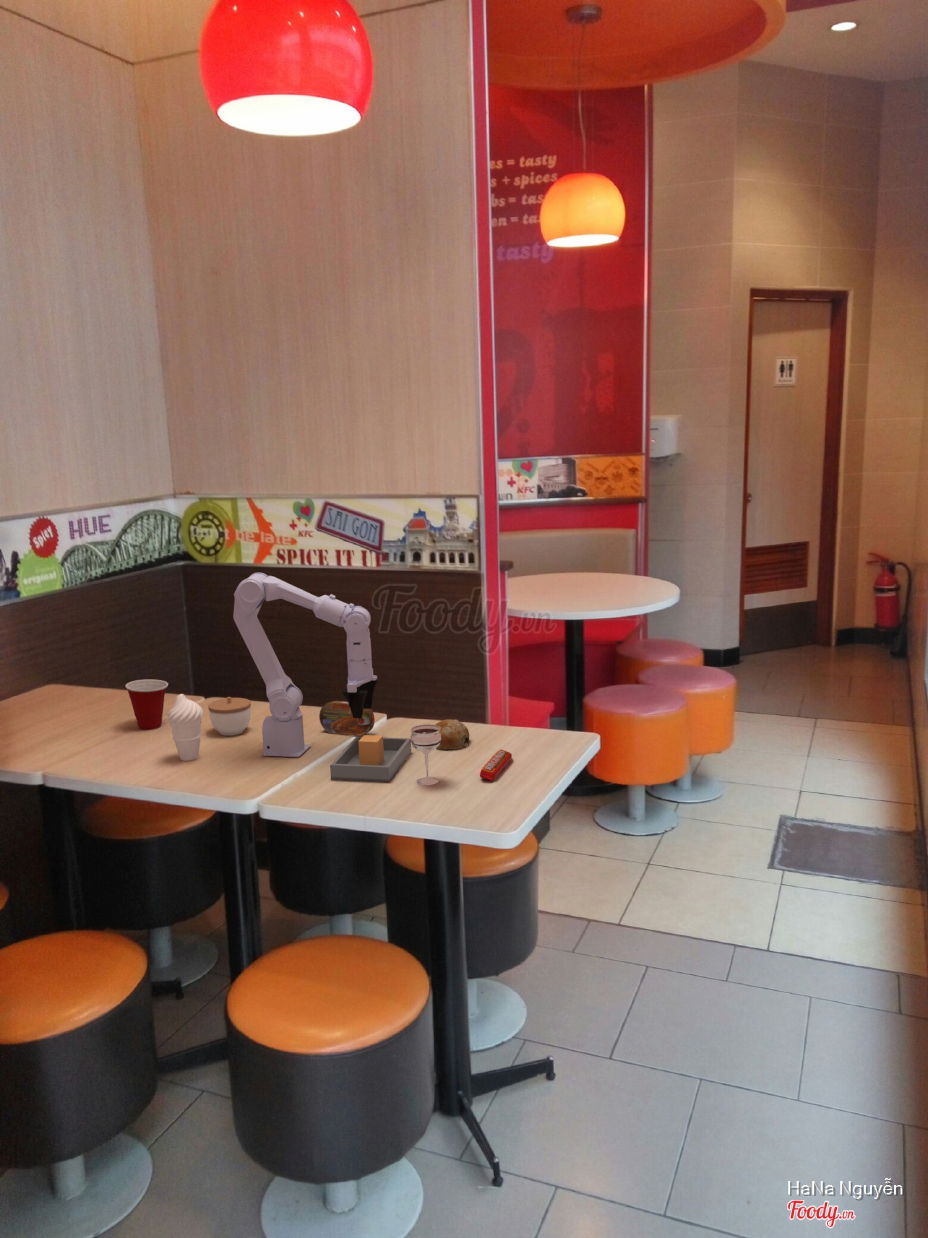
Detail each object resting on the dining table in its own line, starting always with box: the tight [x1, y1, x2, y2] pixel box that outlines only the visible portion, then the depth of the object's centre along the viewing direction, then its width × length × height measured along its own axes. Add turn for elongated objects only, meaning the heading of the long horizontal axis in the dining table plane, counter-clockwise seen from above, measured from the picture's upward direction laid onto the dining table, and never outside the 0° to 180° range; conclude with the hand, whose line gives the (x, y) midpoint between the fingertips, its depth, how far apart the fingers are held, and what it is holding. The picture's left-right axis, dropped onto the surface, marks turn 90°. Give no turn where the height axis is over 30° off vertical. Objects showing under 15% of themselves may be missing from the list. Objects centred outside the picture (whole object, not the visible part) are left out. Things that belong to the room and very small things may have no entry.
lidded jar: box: [207, 696, 252, 737], centre depth 253 cm, size 11×11×9 cm
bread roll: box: [434, 718, 470, 751], centre depth 239 cm, size 10×10×8 cm
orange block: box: [358, 734, 384, 766], centre depth 226 cm, size 4×4×6 cm
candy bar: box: [479, 749, 513, 782], centre depth 221 cm, size 16×4×3 cm, turn 161°
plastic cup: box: [125, 678, 169, 731], centre depth 260 cm, size 11×11×12 cm
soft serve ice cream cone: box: [166, 693, 204, 762], centre depth 234 cm, size 8×8×16 cm
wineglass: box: [409, 724, 441, 786], centre depth 215 cm, size 7×7×12 cm
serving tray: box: [329, 736, 412, 783], centre depth 226 cm, size 14×20×4 cm
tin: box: [318, 700, 376, 737], centre depth 249 cm, size 15×3×8 cm, turn 67°
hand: (362, 713), depth 235 cm, fingers open, 7 cm apart
